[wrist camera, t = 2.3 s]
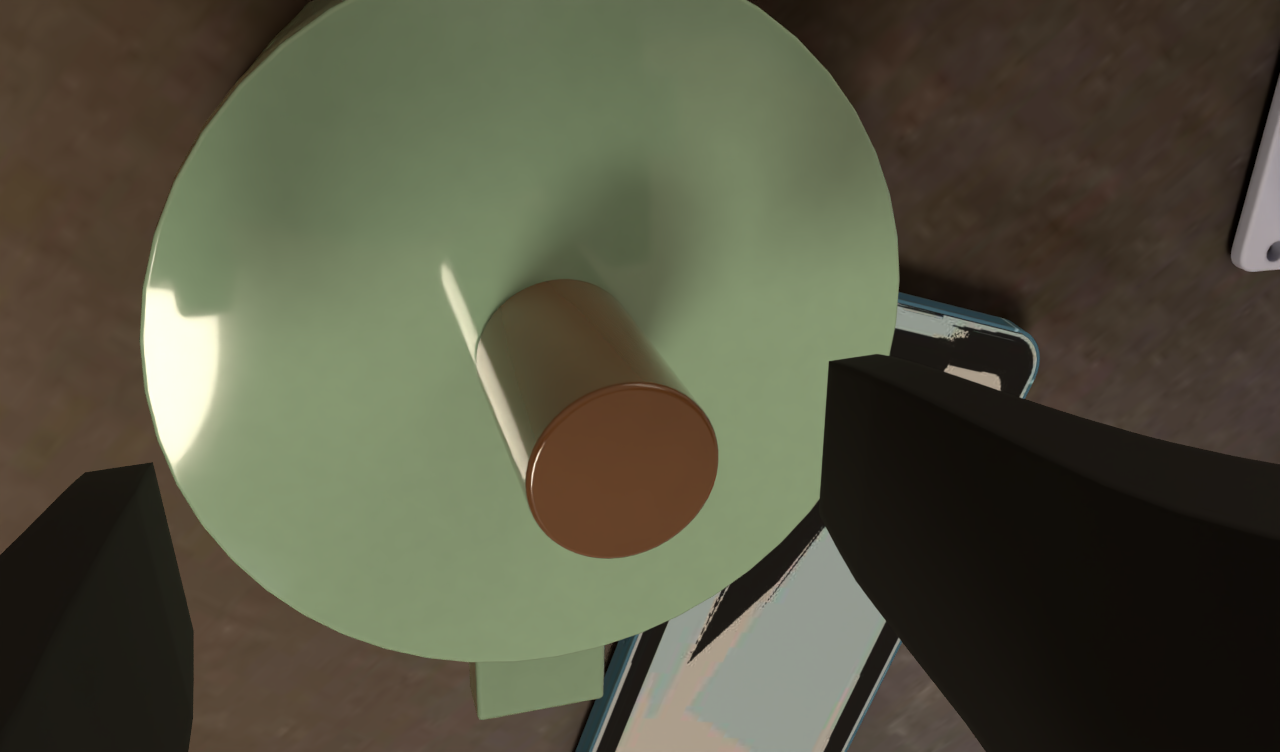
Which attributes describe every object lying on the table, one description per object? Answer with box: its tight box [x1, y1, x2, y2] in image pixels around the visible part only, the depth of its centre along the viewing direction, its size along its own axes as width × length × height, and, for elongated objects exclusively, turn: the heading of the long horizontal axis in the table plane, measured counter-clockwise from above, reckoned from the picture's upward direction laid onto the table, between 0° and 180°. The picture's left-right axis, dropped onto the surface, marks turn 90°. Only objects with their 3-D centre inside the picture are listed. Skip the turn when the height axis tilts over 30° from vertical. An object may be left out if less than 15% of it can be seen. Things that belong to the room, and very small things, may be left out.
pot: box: [248, 0, 605, 720], centre depth 19 cm, size 10×16×5 cm, turn 178°
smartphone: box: [575, 292, 1040, 752], centre depth 27 cm, size 7×1×15 cm
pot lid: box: [139, 0, 900, 662], centre depth 15 cm, size 11×11×5 cm
